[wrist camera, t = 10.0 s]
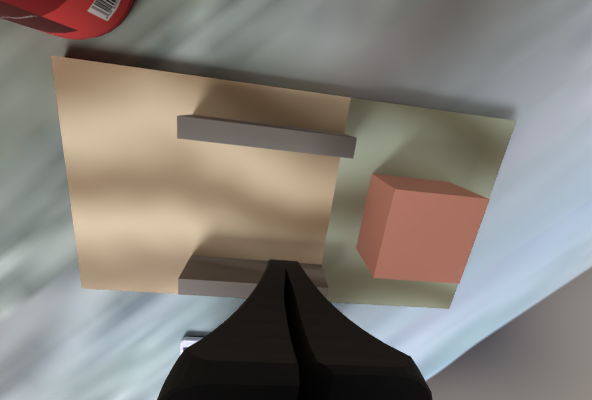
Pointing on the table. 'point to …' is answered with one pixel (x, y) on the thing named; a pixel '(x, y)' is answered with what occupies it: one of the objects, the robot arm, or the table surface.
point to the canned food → (67, 16)
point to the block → (418, 228)
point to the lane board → (246, 179)
